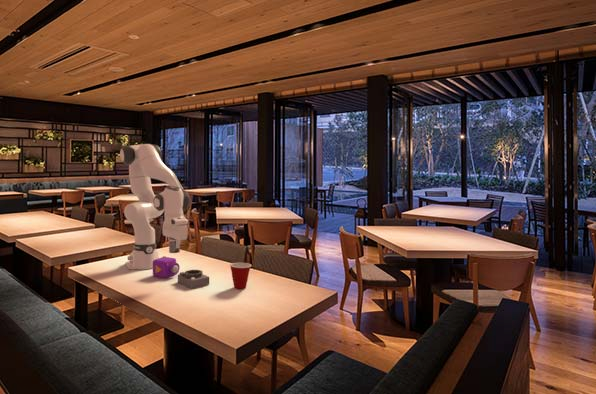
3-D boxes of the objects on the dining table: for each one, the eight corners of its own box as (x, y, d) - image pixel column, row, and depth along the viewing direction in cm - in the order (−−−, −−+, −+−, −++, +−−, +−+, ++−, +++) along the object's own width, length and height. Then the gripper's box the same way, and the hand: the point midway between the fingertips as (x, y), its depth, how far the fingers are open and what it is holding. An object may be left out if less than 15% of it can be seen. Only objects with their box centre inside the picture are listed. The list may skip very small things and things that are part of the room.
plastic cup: (255, 287, 186) (256, 263, 185) (240, 292, 177) (240, 268, 176) (240, 282, 192) (240, 260, 192) (224, 288, 184) (224, 264, 183)
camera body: (177, 282, 191) (177, 270, 191) (195, 278, 198) (195, 267, 198) (191, 288, 181) (191, 276, 181) (209, 284, 189) (209, 273, 188)
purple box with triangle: (173, 280, 195) (173, 261, 194) (150, 278, 198) (149, 259, 197) (183, 274, 206) (183, 256, 205) (161, 272, 209) (161, 254, 208)
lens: (167, 251, 185) (166, 237, 185) (177, 250, 189) (176, 236, 188) (171, 253, 182) (171, 239, 181) (181, 252, 185) (181, 237, 185)
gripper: (158, 217, 189) (159, 244, 190) (177, 222, 175) (177, 251, 176) (170, 216, 194) (171, 242, 195) (189, 220, 179) (190, 249, 180)
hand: (174, 246), depth 185 cm, fingers closed on lens, 5 cm apart
